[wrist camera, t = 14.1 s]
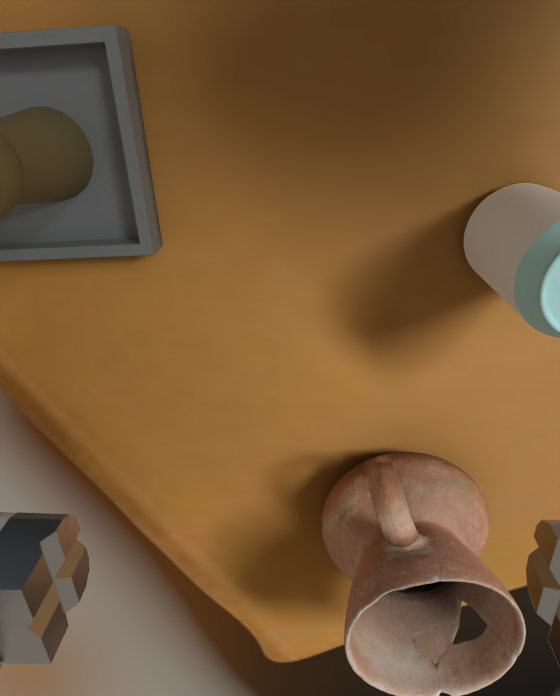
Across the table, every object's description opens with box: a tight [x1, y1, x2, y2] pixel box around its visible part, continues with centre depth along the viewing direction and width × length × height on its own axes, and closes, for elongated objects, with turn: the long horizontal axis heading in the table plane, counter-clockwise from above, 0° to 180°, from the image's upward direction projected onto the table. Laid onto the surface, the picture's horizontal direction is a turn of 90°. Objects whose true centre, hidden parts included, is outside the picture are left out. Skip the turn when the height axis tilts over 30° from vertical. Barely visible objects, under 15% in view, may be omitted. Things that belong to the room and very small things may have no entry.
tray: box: [0, 25, 162, 261], centre depth 34 cm, size 14×14×2 cm
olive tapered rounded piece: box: [0, 107, 94, 218], centre depth 29 cm, size 6×6×11 cm
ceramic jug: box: [321, 452, 526, 696], centre depth 40 cm, size 18×14×14 cm
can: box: [464, 183, 560, 338], centre depth 31 cm, size 7×7×12 cm
